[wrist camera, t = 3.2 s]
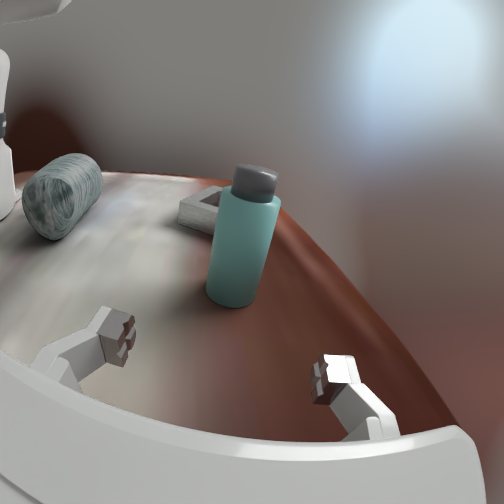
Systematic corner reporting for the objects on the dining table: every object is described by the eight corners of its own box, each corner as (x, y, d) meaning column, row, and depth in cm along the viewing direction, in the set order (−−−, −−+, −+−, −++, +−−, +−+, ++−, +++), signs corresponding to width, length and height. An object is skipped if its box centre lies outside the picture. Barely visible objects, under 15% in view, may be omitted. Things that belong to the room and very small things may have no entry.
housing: (177, 223, 34) (179, 201, 33) (210, 203, 43) (213, 185, 41) (250, 248, 32) (255, 225, 31) (270, 222, 41) (275, 203, 40)
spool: (79, 228, 21) (54, 131, 19) (20, 258, 21) (-3, 174, 19) (127, 209, 35) (107, 143, 32) (75, 232, 34) (57, 170, 32)
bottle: (196, 295, 23) (216, 166, 18) (217, 271, 27) (239, 159, 22) (246, 314, 22) (280, 183, 17) (260, 286, 26) (292, 174, 21)
